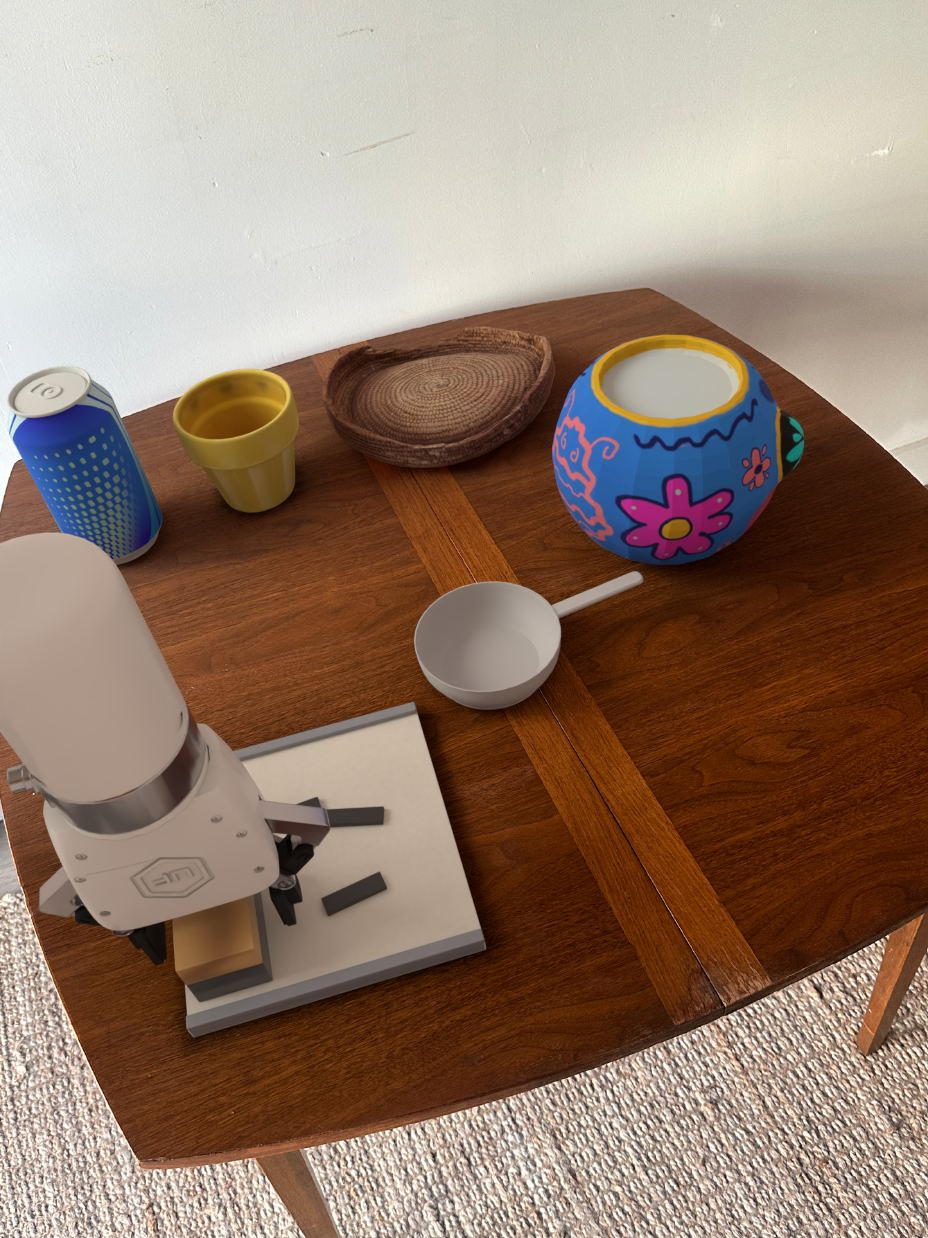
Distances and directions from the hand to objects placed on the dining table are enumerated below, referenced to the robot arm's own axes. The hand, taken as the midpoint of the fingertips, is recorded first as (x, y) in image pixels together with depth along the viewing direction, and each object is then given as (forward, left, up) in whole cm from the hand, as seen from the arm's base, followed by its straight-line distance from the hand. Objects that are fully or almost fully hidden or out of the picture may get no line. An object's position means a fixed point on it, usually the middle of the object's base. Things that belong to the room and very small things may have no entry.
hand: (224, 922), depth 62 cm
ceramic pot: (+39, +26, -3) cm, 47 cm away
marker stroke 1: (+5, +7, -1) cm, 9 cm away
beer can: (-6, +42, -2) cm, 42 cm away
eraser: (0, 0, -1) cm, 1 cm away
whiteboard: (+6, +4, -2) cm, 8 cm away
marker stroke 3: (+8, 0, -1) cm, 8 cm away
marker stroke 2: (+9, +6, -1) cm, 11 cm away
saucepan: (+25, +17, -2) cm, 30 cm away
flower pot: (+7, +44, -3) cm, 44 cm away
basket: (+26, +49, -2) cm, 55 cm away
